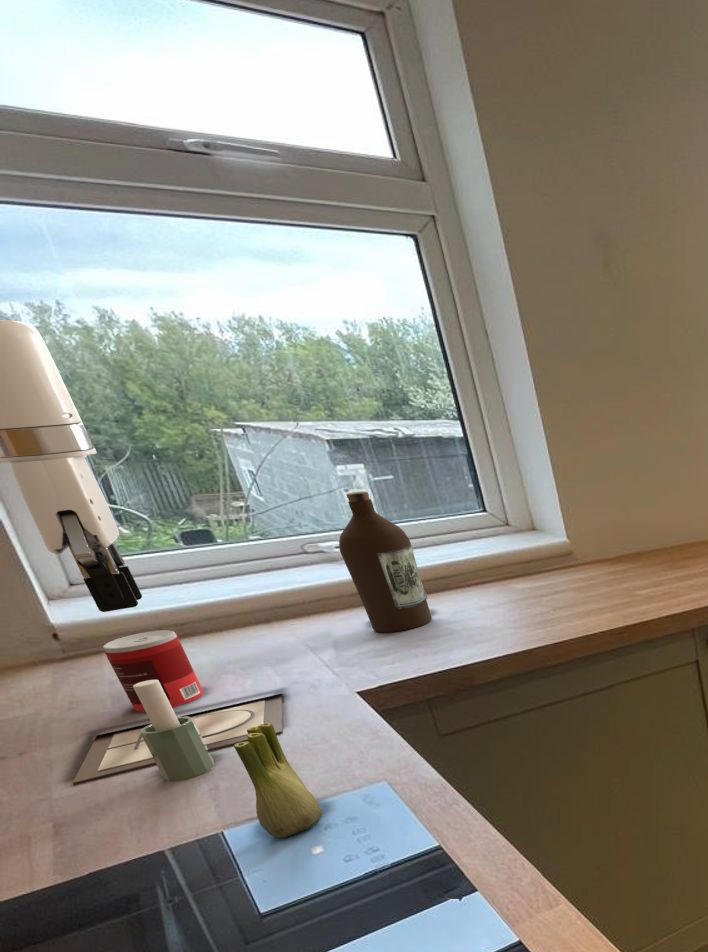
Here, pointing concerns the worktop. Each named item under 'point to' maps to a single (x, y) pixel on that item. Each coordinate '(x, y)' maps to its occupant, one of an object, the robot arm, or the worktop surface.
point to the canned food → (153, 666)
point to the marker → (156, 705)
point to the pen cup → (179, 750)
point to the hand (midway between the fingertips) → (121, 603)
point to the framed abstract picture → (214, 726)
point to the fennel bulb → (276, 785)
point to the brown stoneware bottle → (383, 568)
